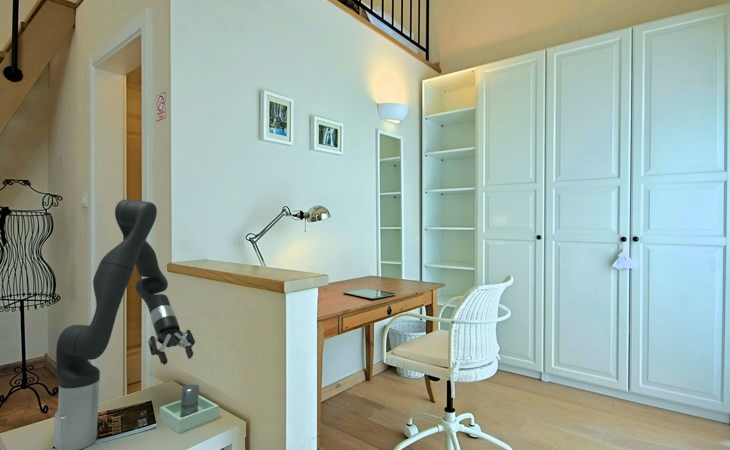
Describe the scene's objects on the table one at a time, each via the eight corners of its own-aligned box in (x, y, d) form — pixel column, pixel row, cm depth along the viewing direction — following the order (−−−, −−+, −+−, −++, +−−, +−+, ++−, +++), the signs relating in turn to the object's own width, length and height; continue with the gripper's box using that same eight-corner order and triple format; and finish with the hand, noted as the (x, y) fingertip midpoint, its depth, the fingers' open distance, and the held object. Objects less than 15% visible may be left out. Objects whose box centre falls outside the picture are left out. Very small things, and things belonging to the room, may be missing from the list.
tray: (178, 433, 114) (179, 420, 114) (159, 419, 122) (159, 407, 122) (218, 417, 124) (218, 405, 124) (197, 406, 132) (198, 394, 132)
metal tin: (184, 421, 119) (186, 392, 120) (177, 415, 123) (178, 387, 123) (200, 415, 123) (202, 387, 124) (193, 410, 127) (194, 383, 127)
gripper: (147, 317, 129) (161, 359, 121) (188, 312, 140) (202, 349, 133) (139, 330, 132) (152, 371, 124) (180, 324, 143) (194, 361, 136)
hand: (178, 360), depth 128 cm, fingers open, 8 cm apart
